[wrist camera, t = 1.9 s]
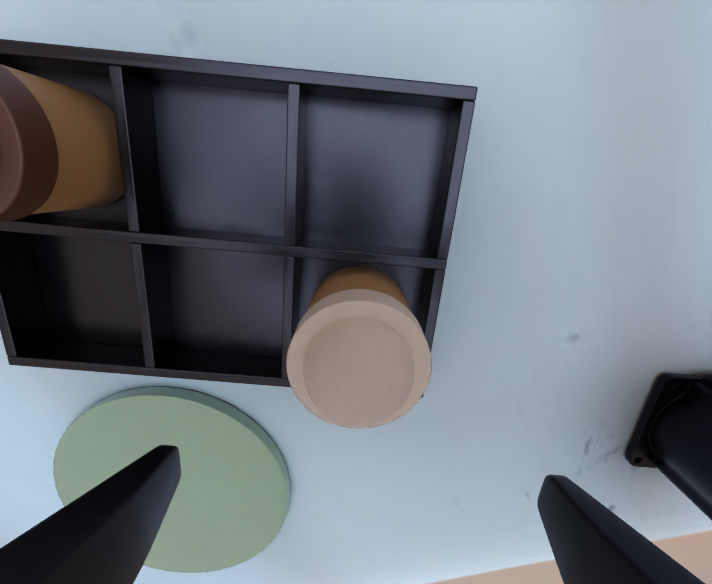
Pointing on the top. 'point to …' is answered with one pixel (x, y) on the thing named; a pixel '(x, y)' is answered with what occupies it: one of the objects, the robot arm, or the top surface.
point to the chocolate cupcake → (54, 148)
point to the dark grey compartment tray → (230, 212)
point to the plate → (185, 472)
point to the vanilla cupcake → (358, 351)
